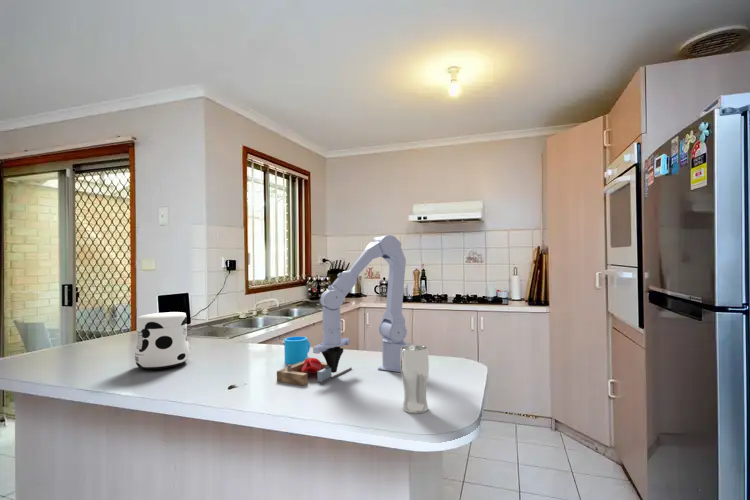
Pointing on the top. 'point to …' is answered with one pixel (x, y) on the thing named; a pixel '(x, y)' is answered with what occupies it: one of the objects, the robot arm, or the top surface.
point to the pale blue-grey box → (324, 374)
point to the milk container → (162, 340)
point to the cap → (311, 365)
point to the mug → (296, 349)
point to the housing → (300, 374)
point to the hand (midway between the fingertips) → (332, 371)
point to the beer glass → (414, 377)
